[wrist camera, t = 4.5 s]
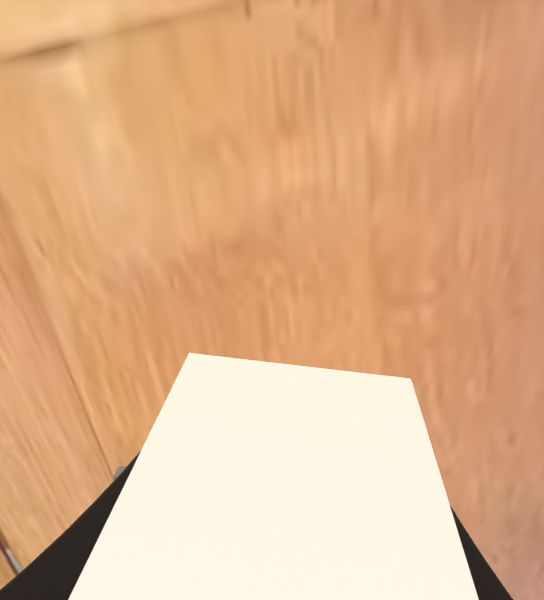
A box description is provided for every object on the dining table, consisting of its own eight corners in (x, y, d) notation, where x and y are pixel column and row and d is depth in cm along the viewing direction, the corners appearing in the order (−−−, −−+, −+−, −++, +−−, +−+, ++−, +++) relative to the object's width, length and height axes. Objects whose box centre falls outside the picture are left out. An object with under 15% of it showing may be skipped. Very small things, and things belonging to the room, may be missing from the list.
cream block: (189, 509, 13) (91, 825, 7) (189, 352, 11) (51, 635, 5) (372, 534, 12) (413, 880, 7) (410, 378, 10) (510, 703, 5)
